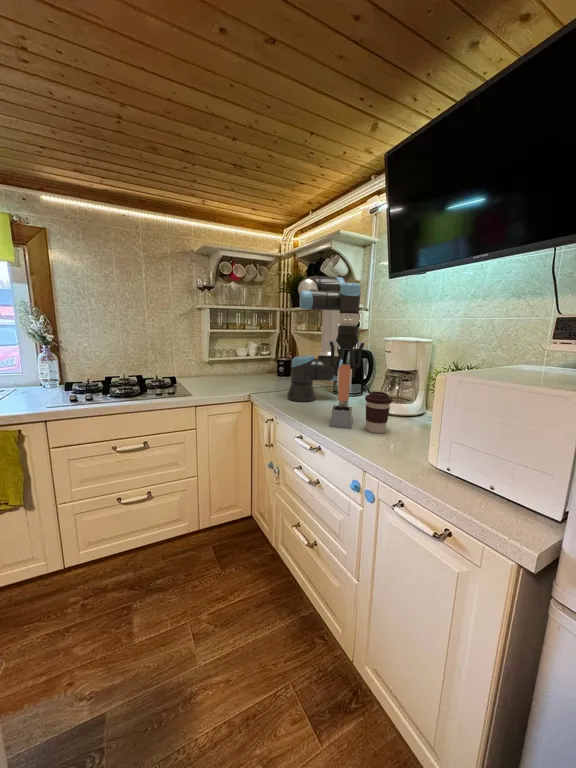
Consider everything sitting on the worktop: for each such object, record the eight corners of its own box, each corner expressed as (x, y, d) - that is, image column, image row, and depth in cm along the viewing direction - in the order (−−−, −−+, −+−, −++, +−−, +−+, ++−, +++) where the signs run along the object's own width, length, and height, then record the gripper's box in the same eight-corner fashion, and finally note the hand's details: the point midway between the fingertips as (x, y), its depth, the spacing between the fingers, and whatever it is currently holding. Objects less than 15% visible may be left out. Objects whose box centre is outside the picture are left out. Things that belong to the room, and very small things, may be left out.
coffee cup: (393, 430, 125) (396, 393, 123) (381, 436, 118) (385, 397, 115) (370, 424, 132) (373, 389, 129) (357, 430, 125) (360, 392, 122)
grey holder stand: (332, 415, 143) (334, 387, 140) (353, 417, 141) (355, 389, 139) (329, 426, 128) (331, 395, 125) (352, 429, 126) (354, 396, 123)
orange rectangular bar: (337, 400, 127) (339, 365, 124) (338, 398, 130) (340, 364, 128) (347, 401, 126) (350, 366, 123) (348, 399, 130) (350, 364, 127)
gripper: (324, 324, 121) (321, 384, 125) (371, 325, 117) (366, 388, 122) (327, 324, 128) (323, 381, 133) (370, 326, 125) (365, 384, 129)
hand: (344, 384), depth 127 cm, fingers closed on orange rectangular bar, 4 cm apart
